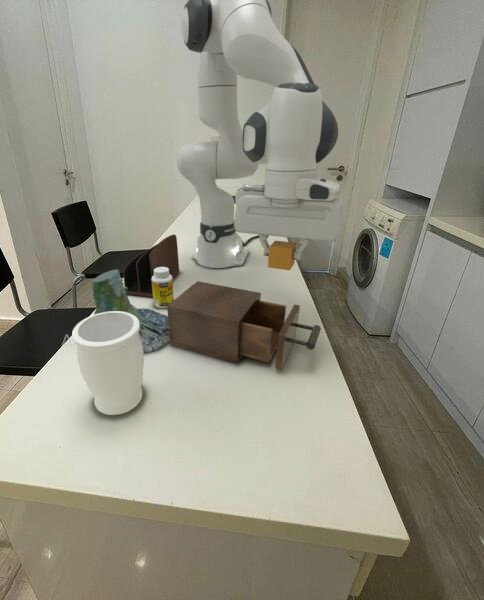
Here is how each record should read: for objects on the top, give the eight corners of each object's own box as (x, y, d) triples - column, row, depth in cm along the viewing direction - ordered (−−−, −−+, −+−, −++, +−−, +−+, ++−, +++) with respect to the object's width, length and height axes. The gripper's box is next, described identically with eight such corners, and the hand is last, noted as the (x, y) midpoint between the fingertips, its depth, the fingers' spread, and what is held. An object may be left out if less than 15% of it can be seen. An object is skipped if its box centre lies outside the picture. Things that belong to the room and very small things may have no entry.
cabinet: (258, 330, 77) (261, 292, 73) (237, 363, 66) (238, 321, 62) (198, 316, 84) (197, 281, 79) (169, 344, 73) (166, 305, 69)
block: (273, 260, 70) (275, 240, 69) (294, 263, 69) (296, 242, 67) (267, 267, 67) (269, 246, 65) (289, 270, 65) (291, 249, 63)
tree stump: (167, 362, 68) (136, 287, 60) (84, 372, 74) (45, 305, 66) (183, 314, 84) (160, 249, 76) (114, 326, 89) (85, 267, 81)
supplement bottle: (159, 311, 87) (156, 275, 82) (150, 303, 91) (146, 268, 87) (177, 305, 90) (175, 270, 85) (167, 297, 94) (165, 263, 89)
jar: (129, 428, 53) (116, 351, 46) (76, 412, 56) (56, 338, 49) (158, 384, 62) (150, 314, 55) (110, 373, 65) (98, 306, 58)
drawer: (319, 342, 70) (325, 309, 67) (308, 377, 60) (314, 341, 57) (233, 322, 79) (234, 292, 75) (211, 350, 69) (210, 318, 65)
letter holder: (179, 272, 110) (177, 231, 104) (156, 298, 94) (151, 250, 87) (152, 270, 113) (148, 229, 107) (124, 294, 97) (118, 248, 90)
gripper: (229, 186, 63) (228, 255, 69) (346, 190, 54) (333, 269, 60) (241, 182, 68) (239, 247, 74) (349, 185, 59) (337, 258, 65)
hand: (282, 257), depth 67 cm, fingers closed on block, 4 cm apart
